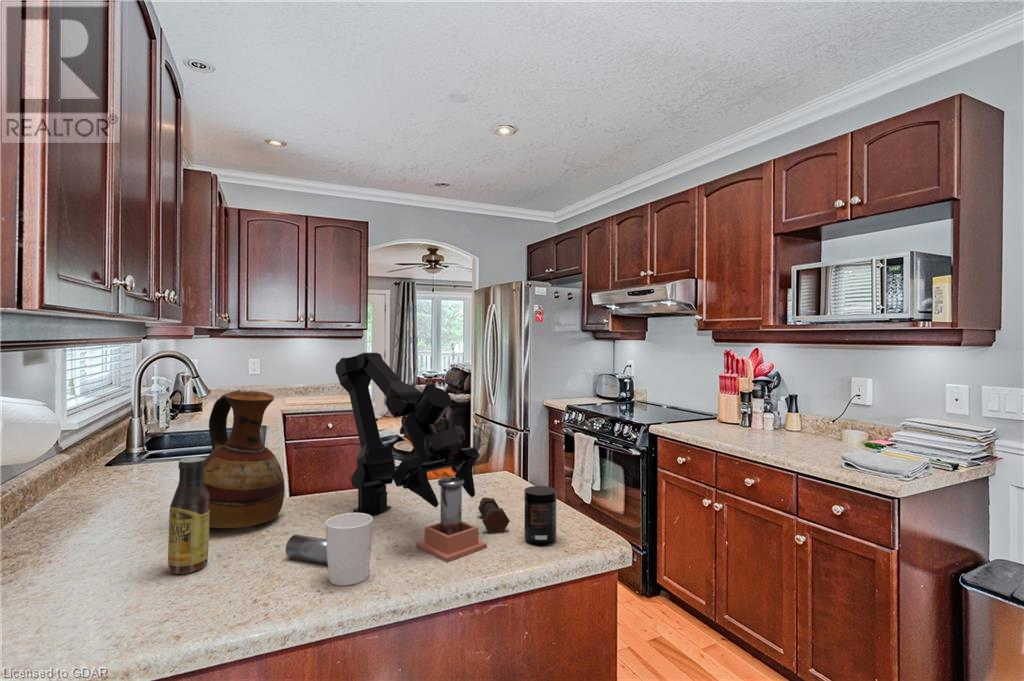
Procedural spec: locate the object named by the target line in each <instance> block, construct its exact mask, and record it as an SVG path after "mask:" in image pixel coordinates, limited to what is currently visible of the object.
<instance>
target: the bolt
mask: <svg viewBox="0 0 1024 681" xmlns="http://www.w3.org/2000/svg"><path fill="white" fill-rule="evenodd" d="M478 511H479V513H480V515H481V517H482V518H483V519H482V523H483V525H484V527H485V528H486V530H487V532H488V533H489V534H502V533H504V532H505V530H506V529H507V527H508V525H509V523H510V519H509V517H508V516H507V514H506V513H505V511H504V509H503V508H502V507H499V505H498V502H497V501H496V500H495V498H491V497H482V498H481V500H480V501H479V505H478Z"/></svg>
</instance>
